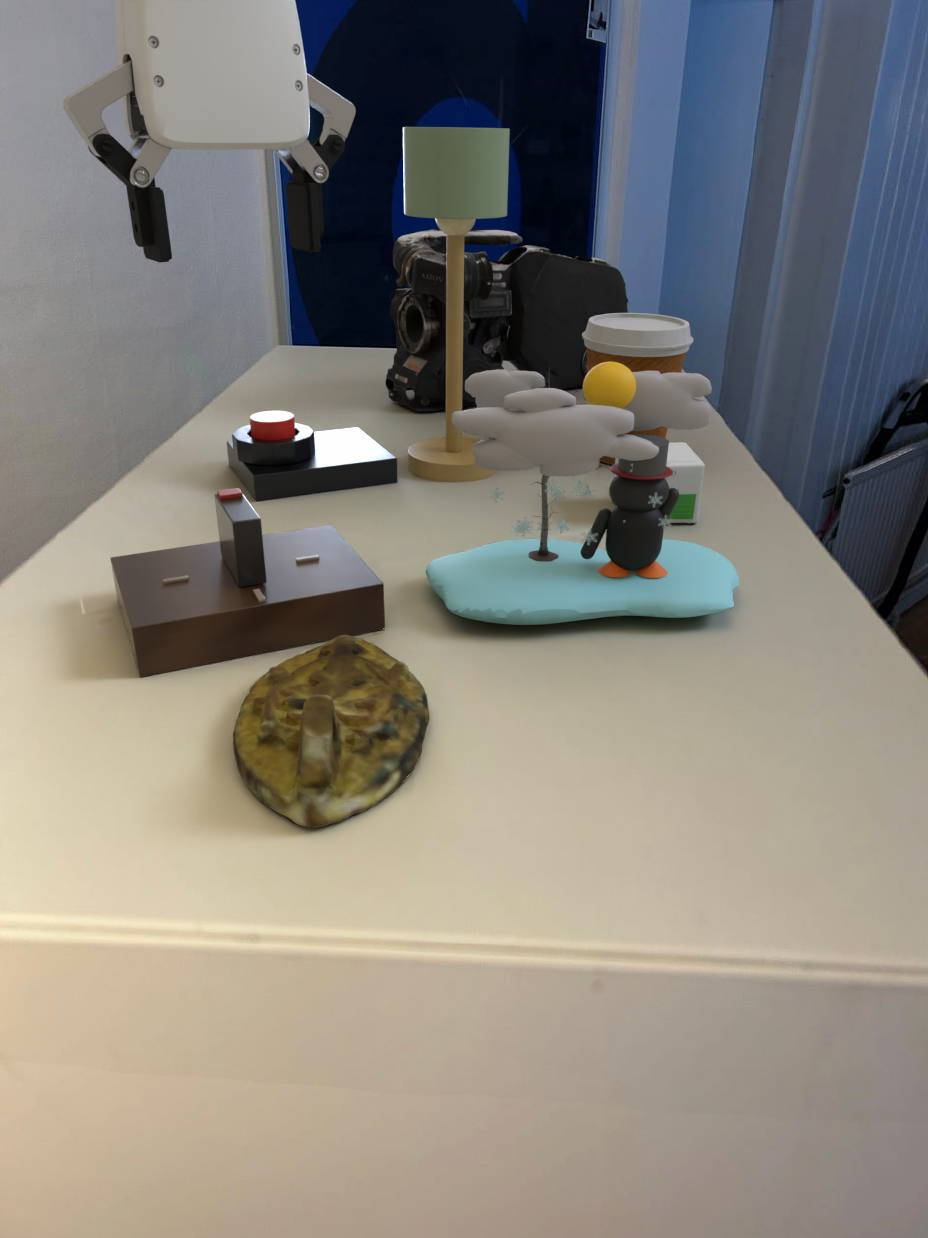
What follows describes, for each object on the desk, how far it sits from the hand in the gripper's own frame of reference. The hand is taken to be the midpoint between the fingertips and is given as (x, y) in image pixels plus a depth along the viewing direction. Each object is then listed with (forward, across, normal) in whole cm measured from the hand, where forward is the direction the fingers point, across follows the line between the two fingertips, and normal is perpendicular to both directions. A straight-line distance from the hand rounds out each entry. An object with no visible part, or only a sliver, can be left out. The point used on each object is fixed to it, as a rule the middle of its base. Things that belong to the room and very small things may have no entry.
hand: (234, 254), depth 58 cm
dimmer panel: (+19, +6, +10) cm, 23 cm away
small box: (+20, -28, +11) cm, 36 cm away
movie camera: (+20, -39, -25) cm, 50 cm away
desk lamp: (+19, -21, -6) cm, 29 cm away
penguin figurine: (+20, -13, +20) cm, 31 cm away
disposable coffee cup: (+20, -36, -1) cm, 41 cm away
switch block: (+19, -9, -12) cm, 24 cm away
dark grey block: (+16, +5, +10) cm, 20 cm away
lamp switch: (+16, -6, -12) cm, 21 cm away
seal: (+20, +7, +24) cm, 32 cm away
